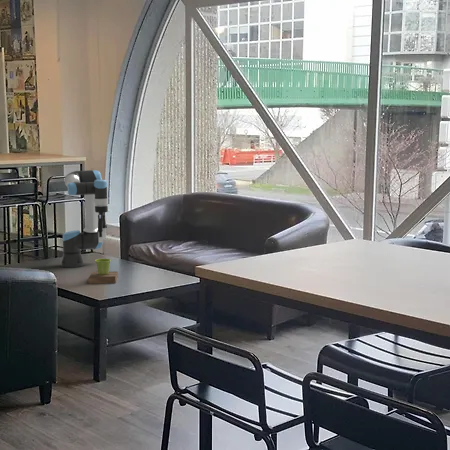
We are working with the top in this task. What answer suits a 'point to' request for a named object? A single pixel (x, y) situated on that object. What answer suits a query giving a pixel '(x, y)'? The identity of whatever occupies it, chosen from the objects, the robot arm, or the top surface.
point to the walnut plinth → (103, 278)
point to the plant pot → (103, 266)
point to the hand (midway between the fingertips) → (102, 240)
